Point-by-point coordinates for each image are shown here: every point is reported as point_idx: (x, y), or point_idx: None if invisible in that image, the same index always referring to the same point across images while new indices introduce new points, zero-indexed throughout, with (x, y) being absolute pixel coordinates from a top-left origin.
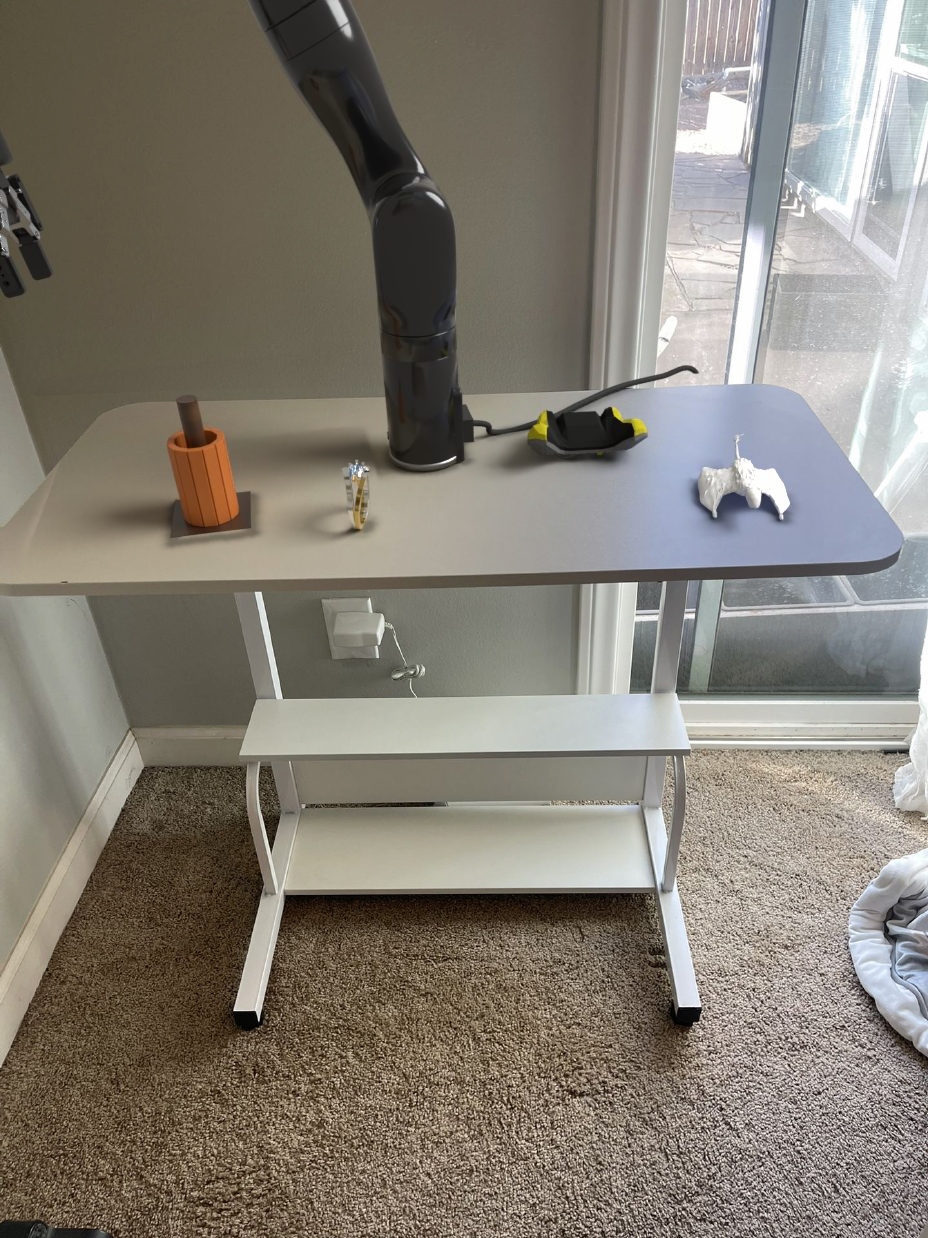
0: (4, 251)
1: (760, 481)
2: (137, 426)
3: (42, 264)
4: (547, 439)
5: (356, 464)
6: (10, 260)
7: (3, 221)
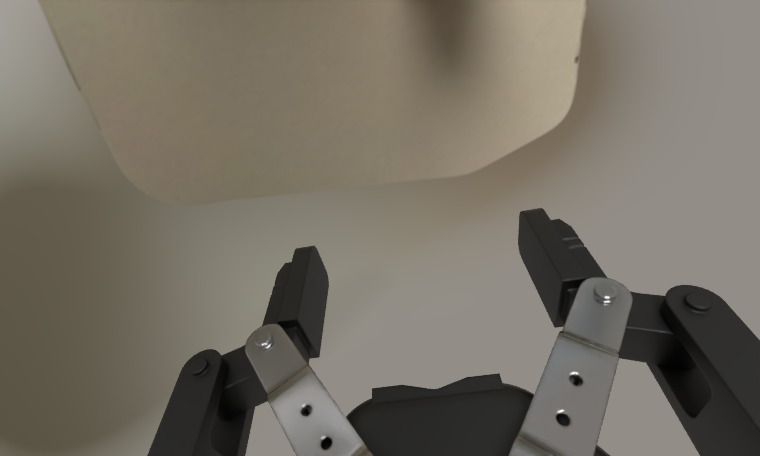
0: (623, 288)
1: None
2: (197, 156)
3: (312, 275)
4: None
5: None
6: (578, 269)
7: (600, 378)
